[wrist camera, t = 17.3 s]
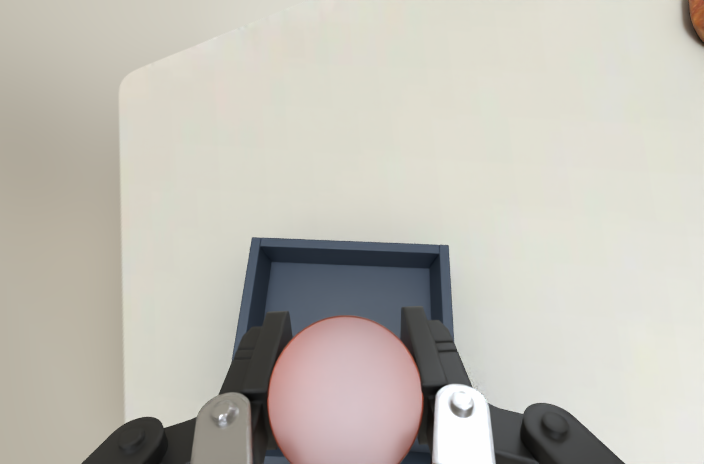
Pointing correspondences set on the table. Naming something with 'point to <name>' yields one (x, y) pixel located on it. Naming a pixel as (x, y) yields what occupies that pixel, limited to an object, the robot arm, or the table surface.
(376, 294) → the bin
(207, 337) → the table surface
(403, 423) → the terracotta red cylinder
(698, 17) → the slice of bread
